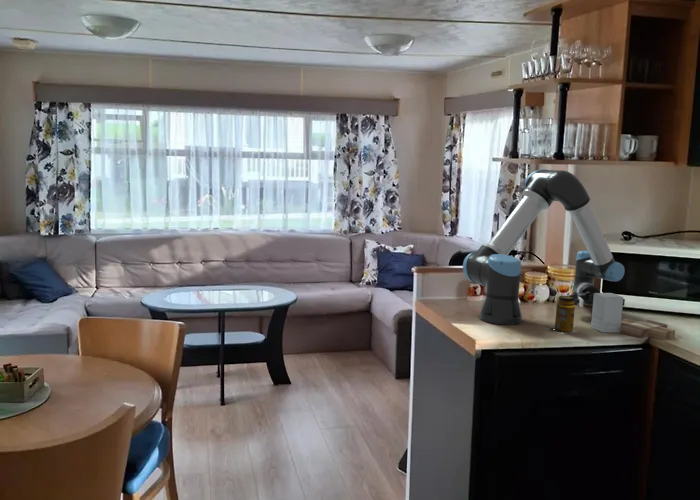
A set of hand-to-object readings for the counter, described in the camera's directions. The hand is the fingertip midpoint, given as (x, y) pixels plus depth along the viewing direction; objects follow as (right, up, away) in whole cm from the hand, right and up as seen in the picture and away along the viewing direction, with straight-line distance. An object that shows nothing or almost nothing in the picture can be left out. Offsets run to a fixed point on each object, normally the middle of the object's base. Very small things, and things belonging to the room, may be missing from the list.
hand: (601, 305), depth 237 cm
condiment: (-18, -8, -12) cm, 23 cm away
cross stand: (+11, -9, -10) cm, 17 cm away
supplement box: (-2, -8, -8) cm, 12 cm away
